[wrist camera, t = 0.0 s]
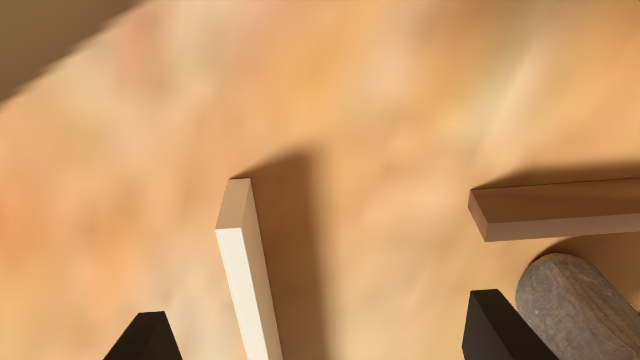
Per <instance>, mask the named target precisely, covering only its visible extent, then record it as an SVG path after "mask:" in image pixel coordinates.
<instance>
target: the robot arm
mask: <svg viewBox="0 0 640 360" xmlns="http://www.w3.org/2000/svg"><path fill="white" fill-rule="evenodd" d="M462 350H463V354H464V358H465V360H560V359H559V358H558V357H557V356H556V355H555V354H554V353H553V352H552V350H551V349H550V348H549V347H548V346H547V345H546V344H545V343H544V342H543V341H542V339H541V338H540V337H539V336H538V335H537V334H536V333H535V332H534V330H533V329H532V328H531V327H530V326H529V325H528V324H527V322H526V321H525V320H524V319H523V318H522V317H521V316H520V314H519V313H518V312H517V311H516V310H515V309H514V307H513V306H512V305H511V304H510V303H509V301H508V300H507V299H506V298H505V297H504V295H503V294H502V293H501V292H500V291H499V290H498V289H489V290H474V291H470V298H469V304H468V311H467V317H466V323H465V330H464V336H463V342H462ZM103 360H183V359H182V357H181V354H180V351H179V349H178V346H177V343H176V341H175V338H174V335H173V333H172V330H171V327H170V325H169V322H168V319H167V317H166V314H165V311H159V312H144V313H138V314H137V316H136V317H135V318H134V319H133V321H132V322H131V323H130V324H129V326H128V327H127V328H126V330H125V331H124V332H123V334H122V335H121V336H120V338H119V339H118V340H117V342H116V343H115V344H114V346H113V347H112V348H111V350H110V351H109V352H108V354H107V355H106V356H105V358H104V359H103Z"/></svg>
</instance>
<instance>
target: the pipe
mask: <svg viewBox="0 0 640 360" xmlns="http://www.w3.org/2000/svg"><path fill="white" fill-rule="evenodd" d="M515 300H516V307H517V310H518V313H519V314H520V316H521V317H522V318H523V319H524V320H525V321H526V322H527V324H528V325H529V326H530V327H531V328H532V329H533V330H534V332H535V333H536V334H537V335H538V336H539V337H540V338H541V339H542V341H543V342H544V343H545V344H546V345H547V346H548V347H549V348H550V349H551V350H552V352H553V353H554V354H555V355H556V356H557V357H558V358H559V359H560V360H640V314H639V313H638V312H637V311H636V310H635V309H634V308H633V307H632V306H631V305H630V304H629V303H628V302H627V301H626V300H625V299H624V298H623V297H622V296H621V295H620V293H619V292H618V291H617V290H616V289H615V288H614V287H613V286H612V285H611V284H610V283H609V282H608V281H607V279H606V278H605V277H604V276H603V275H602V274H601V273H600V272H599V271H598V270H597V269H596V267H595V266H593V265H592V264H591V263H589V262H588V261H586V260H584V259H582V258H579V257H576V256H573V255H570V254H566V253H551V254H548V255H545V256H543V257H541V258H539V259H538V260H536V261H535V262H533V263H532V264H531V265H530V266H529V267H528V268H527V269H526V270H525V272H524V273H523V275H522V277H521V278H520V280H519V283H518V286H517V290H516V297H515Z"/></svg>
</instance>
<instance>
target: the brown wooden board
mask: <svg viewBox="0 0 640 360" xmlns="http://www.w3.org/2000/svg"><path fill="white" fill-rule="evenodd" d="M468 208H469V210H470V212H471V214H472V217H473V219H474V221H475V223H476V225H477V227H478V229H479V231H480V233H481V235H482V237H483V239H484V241H485V242H493V241H508V240H522V239H537V238H551V237H566V236H580V235H595V234H610V233H624V232H639V231H640V178H632V179H618V180H603V181H589V182H575V183H561V184H547V185H532V186H518V187H504V188H490V189H476V190H470V196H469V203H468Z"/></svg>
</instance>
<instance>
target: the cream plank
mask: <svg viewBox="0 0 640 360" xmlns="http://www.w3.org/2000/svg"><path fill="white" fill-rule="evenodd" d="M215 231H216V235H217V239H218V243H219V247H220V251H221V255H222V259H223V263H224V267H225V271H226V275H227V279H228V283H229V287H230V291H231V295H232V299H233V303H234V307H235V311H236V315H237V319H238V323H239V327H240V331H241V335H242V339H243V343H244V347H245V351H246V355H247V359H248V360H283V356H282V351H281V345H280V340H279V334H278V329H277V323H276V318H275V312H274V307H273V301H272V296H271V290H270V285H269V279H268V274H267V268H266V263H265V257H264V252H263V246H262V241H261V235H260V230H259V224H258V219H257V213H256V208H255V202H254V197H253V191H252V186H251V180H250V178H245V179H231V180H228V181H227V185H226V189H225V193H224V197H223V201H222V205H221V208H220V212H219V216H218V220H217V224H216V228H215Z"/></svg>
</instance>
